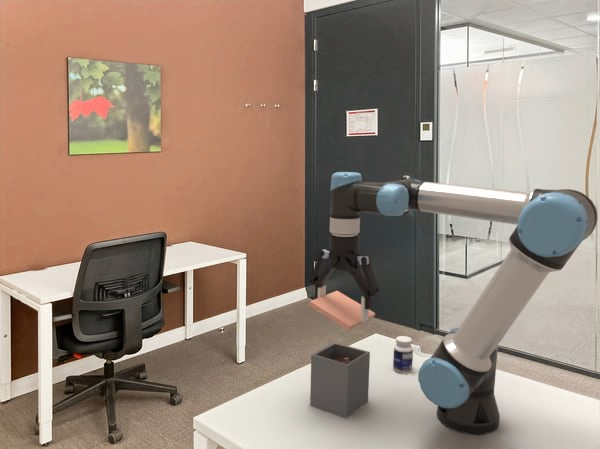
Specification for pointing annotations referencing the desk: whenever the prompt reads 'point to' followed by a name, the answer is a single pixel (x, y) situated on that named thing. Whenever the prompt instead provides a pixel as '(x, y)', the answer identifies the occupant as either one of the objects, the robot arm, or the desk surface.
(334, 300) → the lid
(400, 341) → the pill bottle
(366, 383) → the bin
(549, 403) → the desk surface
